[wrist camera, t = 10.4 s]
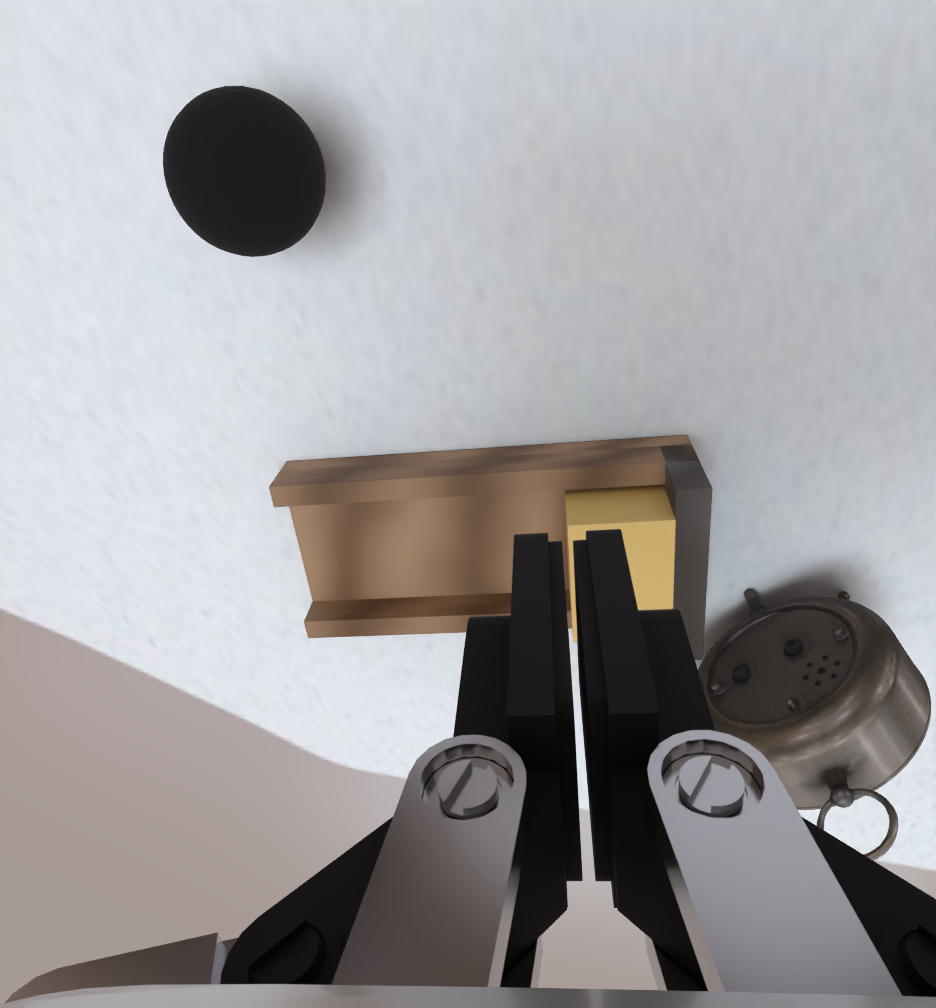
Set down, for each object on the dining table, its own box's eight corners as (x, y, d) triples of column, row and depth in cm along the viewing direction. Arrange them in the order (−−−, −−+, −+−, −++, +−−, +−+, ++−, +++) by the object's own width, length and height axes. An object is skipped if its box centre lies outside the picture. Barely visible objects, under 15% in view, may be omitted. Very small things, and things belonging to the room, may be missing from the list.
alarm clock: (704, 683, 47) (779, 935, 33) (659, 627, 45) (718, 868, 31) (871, 602, 43) (1040, 847, 29) (830, 537, 41) (987, 765, 27)
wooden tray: (686, 435, 39) (712, 488, 33) (681, 590, 44) (702, 659, 38) (286, 461, 42) (249, 515, 36) (321, 605, 46) (293, 672, 41)
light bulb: (349, 243, 36) (289, 288, 27) (230, 210, 35) (130, 244, 27) (372, 111, 33) (314, 113, 24) (243, 72, 32) (136, 60, 24)
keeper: (659, 472, 39) (675, 520, 34) (657, 583, 42) (672, 638, 38) (563, 478, 39) (567, 525, 35) (569, 587, 43) (573, 642, 38)
